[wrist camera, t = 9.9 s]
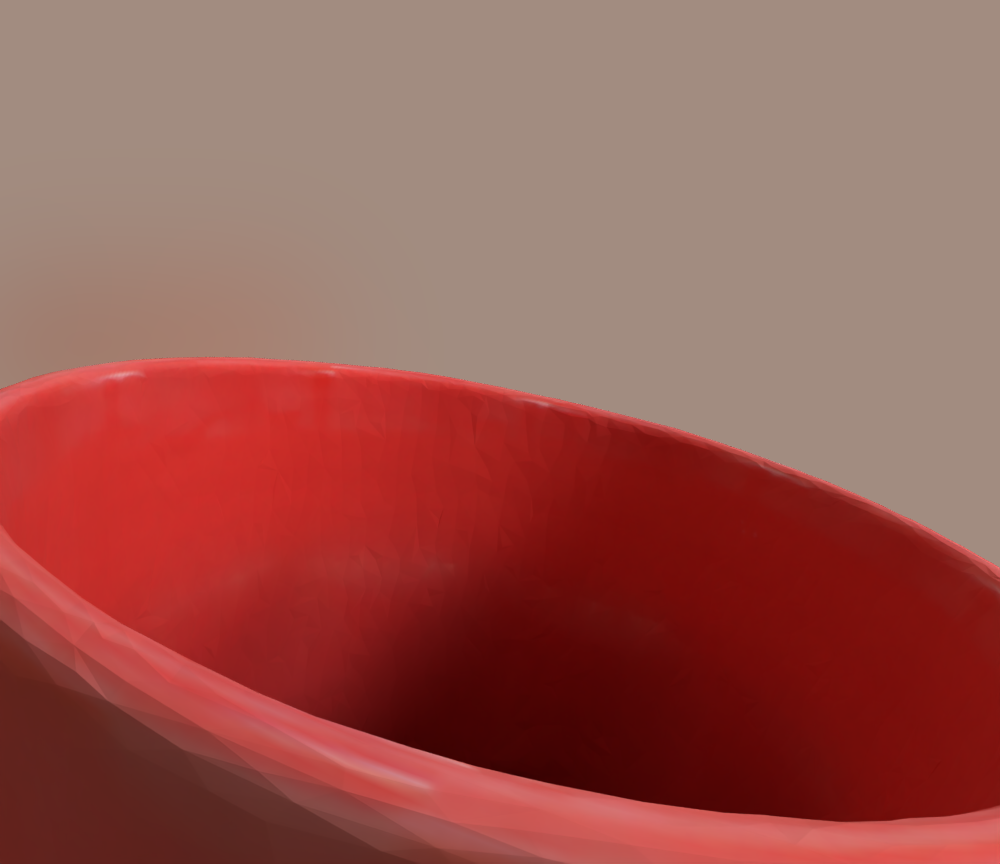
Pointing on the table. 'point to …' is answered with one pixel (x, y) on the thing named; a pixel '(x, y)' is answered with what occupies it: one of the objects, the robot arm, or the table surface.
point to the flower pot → (465, 635)
